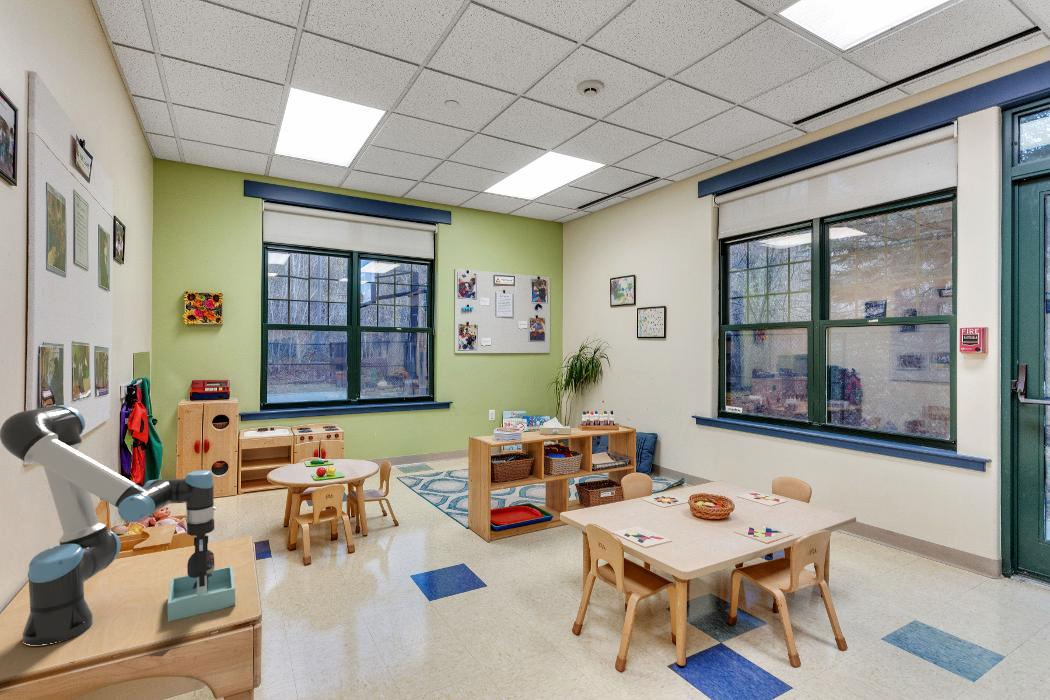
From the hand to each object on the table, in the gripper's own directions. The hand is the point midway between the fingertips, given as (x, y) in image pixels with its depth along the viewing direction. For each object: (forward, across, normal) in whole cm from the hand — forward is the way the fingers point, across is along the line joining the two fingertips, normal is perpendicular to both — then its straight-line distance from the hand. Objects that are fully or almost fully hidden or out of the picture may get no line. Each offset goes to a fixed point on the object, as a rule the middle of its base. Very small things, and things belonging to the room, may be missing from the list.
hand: (202, 589), depth 169 cm
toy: (+2, 0, 0) cm, 2 cm away
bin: (+3, 0, 0) cm, 3 cm away
